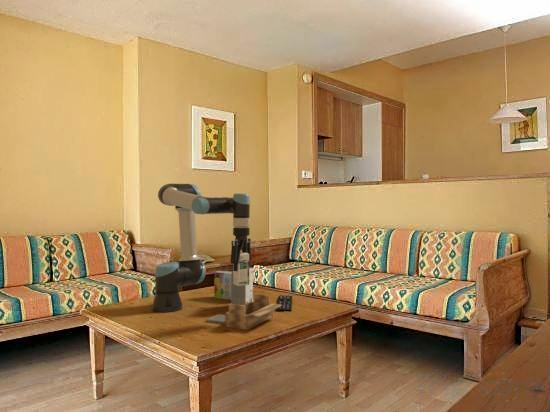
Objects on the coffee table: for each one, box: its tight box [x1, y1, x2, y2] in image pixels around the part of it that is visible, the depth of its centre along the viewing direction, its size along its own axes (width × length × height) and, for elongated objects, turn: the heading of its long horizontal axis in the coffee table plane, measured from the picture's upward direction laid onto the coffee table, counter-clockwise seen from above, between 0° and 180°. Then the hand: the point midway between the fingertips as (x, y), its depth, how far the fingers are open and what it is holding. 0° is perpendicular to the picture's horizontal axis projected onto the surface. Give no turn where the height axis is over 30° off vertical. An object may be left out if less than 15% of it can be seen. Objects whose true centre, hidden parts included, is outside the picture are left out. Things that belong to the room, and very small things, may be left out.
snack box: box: [213, 270, 232, 301], centre depth 247 cm, size 21×6×15 cm, turn 59°
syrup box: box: [232, 252, 250, 286], centre depth 202 cm, size 6×6×14 cm
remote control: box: [275, 294, 293, 313], centre depth 234 cm, size 8×32×2 cm, turn 177°
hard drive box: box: [230, 267, 254, 305], centre depth 226 cm, size 16×8×20 cm, turn 168°
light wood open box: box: [224, 293, 282, 331], centre depth 200 cm, size 17×24×10 cm
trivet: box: [205, 313, 225, 325], centre depth 203 cm, size 10×10×1 cm
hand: (241, 276), depth 202 cm, fingers closed on syrup box, 8 cm apart
